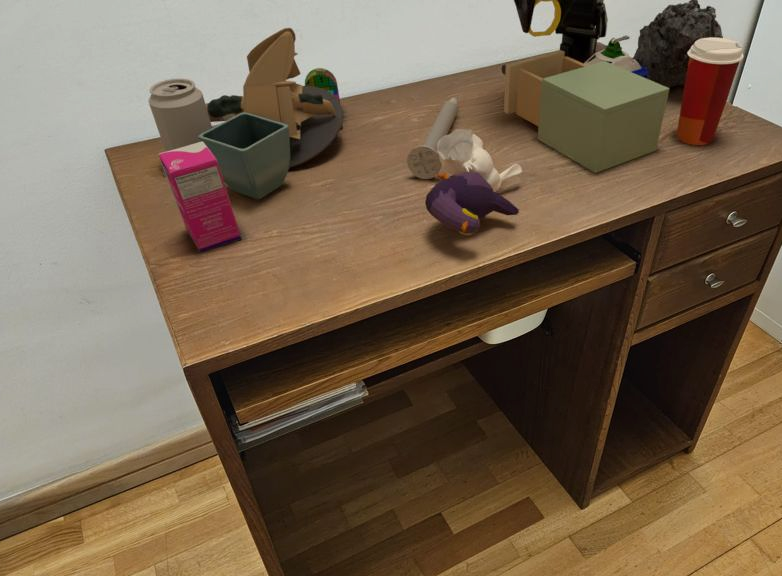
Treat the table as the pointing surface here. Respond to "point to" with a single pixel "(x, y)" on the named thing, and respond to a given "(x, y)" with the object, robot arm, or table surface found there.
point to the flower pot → (250, 153)
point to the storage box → (601, 115)
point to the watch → (554, 23)
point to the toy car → (618, 58)
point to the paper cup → (707, 88)
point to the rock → (674, 41)
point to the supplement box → (200, 195)
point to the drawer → (532, 82)
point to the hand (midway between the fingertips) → (541, 28)
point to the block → (323, 81)
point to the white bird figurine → (471, 158)
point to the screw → (432, 143)
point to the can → (179, 112)
